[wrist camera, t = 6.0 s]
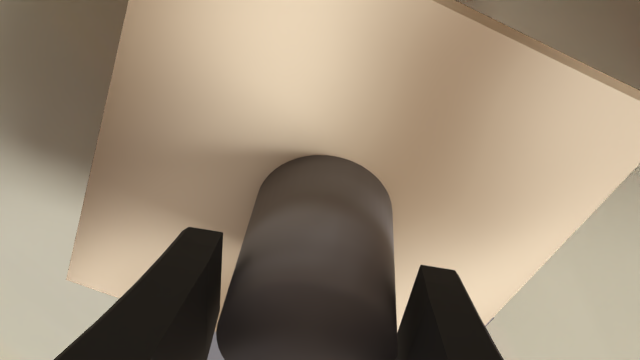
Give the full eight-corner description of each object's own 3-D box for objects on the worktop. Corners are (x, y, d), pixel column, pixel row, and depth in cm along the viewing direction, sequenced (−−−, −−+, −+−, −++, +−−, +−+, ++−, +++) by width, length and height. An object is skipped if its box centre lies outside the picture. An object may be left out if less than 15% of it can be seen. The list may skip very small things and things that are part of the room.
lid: (80, 258, 14) (-19, 407, 11) (174, -138, 9) (38, -102, 5) (412, 376, 16) (422, 541, 12) (661, 101, 11) (808, 252, 7)
